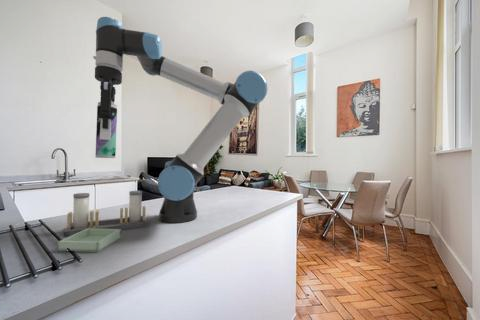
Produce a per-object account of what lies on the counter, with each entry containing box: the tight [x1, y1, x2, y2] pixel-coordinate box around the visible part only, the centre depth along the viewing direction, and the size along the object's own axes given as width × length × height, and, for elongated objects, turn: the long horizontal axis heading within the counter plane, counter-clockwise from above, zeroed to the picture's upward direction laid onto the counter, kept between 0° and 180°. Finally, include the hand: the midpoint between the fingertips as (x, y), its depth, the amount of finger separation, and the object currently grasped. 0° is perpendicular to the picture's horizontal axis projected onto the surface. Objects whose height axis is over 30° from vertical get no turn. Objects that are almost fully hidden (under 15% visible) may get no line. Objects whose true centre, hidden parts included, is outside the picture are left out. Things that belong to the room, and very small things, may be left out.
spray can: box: [95, 101, 118, 159], centre depth 68 cm, size 6×6×20 cm
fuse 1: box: [72, 192, 90, 229], centre depth 68 cm, size 4×4×12 cm
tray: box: [57, 227, 122, 253], centre depth 58 cm, size 10×10×2 cm
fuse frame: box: [63, 206, 148, 238], centre depth 72 cm, size 23×9×6 cm, turn 120°
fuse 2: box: [128, 190, 143, 223], centre depth 76 cm, size 4×4×12 cm
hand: (106, 140), depth 68 cm, fingers closed on spray can, 5 cm apart
